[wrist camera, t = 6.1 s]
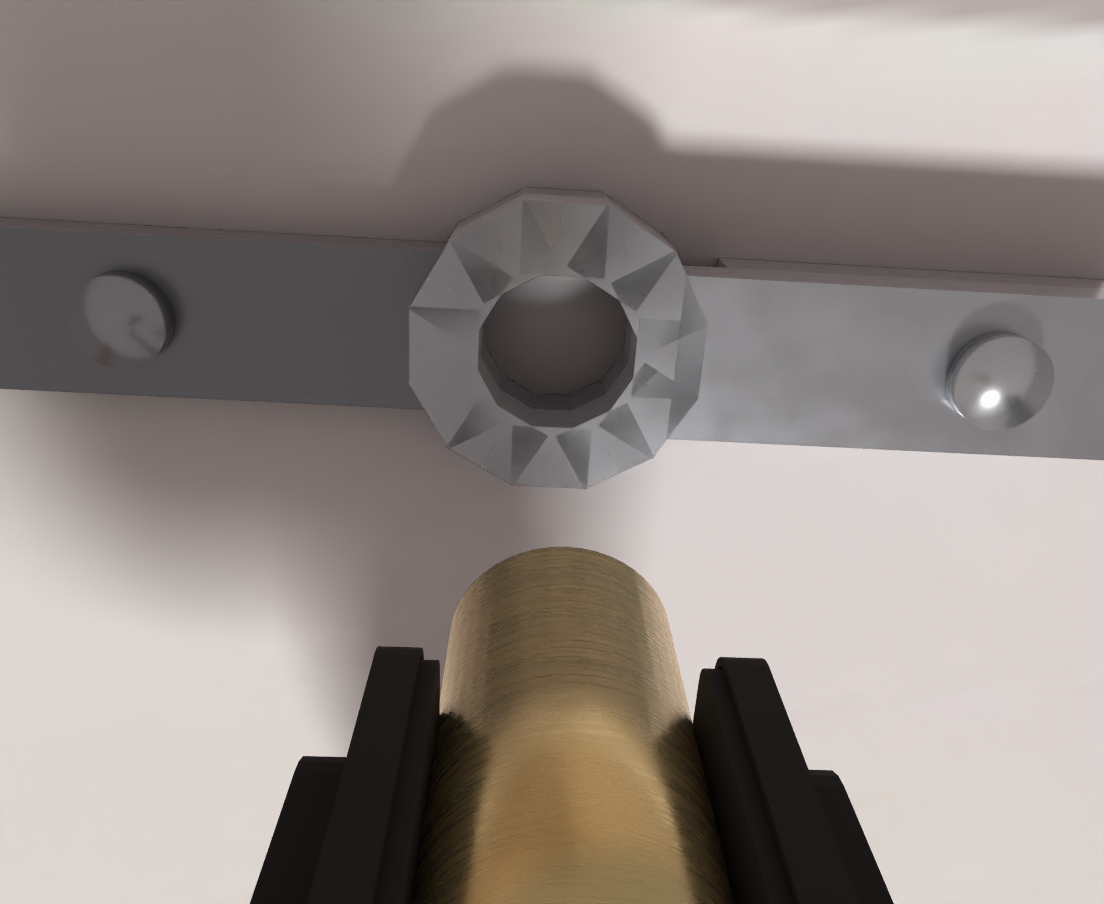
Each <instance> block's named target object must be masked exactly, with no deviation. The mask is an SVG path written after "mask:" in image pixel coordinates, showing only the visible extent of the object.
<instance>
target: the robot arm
mask: <svg viewBox="0 0 1104 904" xmlns="http://www.w3.org/2000/svg"><path fill="white" fill-rule="evenodd" d="M439 716H440V665H439V660H424V654H423V649H422V648H414V647H382V646H378V647H377V649H376V651H375V654H374V658H373V662H372V665H371V669H370V673H369V677H368V680H367V684H366V688H365V691H364V695H363V699H362V702H361V706H360V710H359V713H358V717H357V721H356V725H355V728H354V732H353V736H352V739H351V743H350V747H349V750H348V754H347V757H316V756H303V757H302V758H301V759H300V761H299V762H298V765H297V767H296V770H295V772H294V775H293V778H292V781H291V784H290V787H289V790H288V793H287V796H286V798H285V801H284V804H283V807H282V810H281V813H280V816H279V819H278V822H277V825H276V828H275V831H274V834H273V837H272V840H271V843H270V846H269V849H268V852H267V855H266V858H265V860H264V863H263V866H262V869H261V872H260V875H259V878H258V881H257V884H256V887H255V890H254V893H253V896H252V899H251V902H250V904H412V900H413V893H414V886H415V880H416V873H417V866H418V859H419V852H420V846H421V839H422V832H423V825H424V818H425V811H426V805H427V798H428V791H429V784H430V777H431V771H432V764H433V757H434V750H435V743H436V737H437V730H438V723H439ZM693 728H694V733H695V737H696V741H697V745H698V750H699V754H700V758H701V762H702V766H703V771H704V775H705V779H706V783H707V788H708V792H709V796H710V800H711V805H712V809H713V813H714V817H715V821H716V826H717V830H718V834H719V838H720V843H721V847H722V851H723V855H724V860H725V864H726V868H727V872H728V877H729V881H730V885H731V889H732V893H733V898H734V902H735V904H894V903H893V901H892V899H891V896H890V894H889V892H888V889H887V887H886V884H885V882H884V880H883V877H882V875H881V873H880V870H879V868H878V866H877V863H876V861H875V858H874V856H873V854H872V851H871V849H870V847H869V844H868V842H867V840H866V837H865V835H864V832H863V830H862V828H861V825H860V823H859V821H858V818H857V816H856V814H855V811H854V809H853V806H852V804H851V802H850V799H849V797H848V795H847V792H846V790H845V788H844V785H843V784H842V782H841V780H840V778H839V776H838V775H837V774H836V773H834V772H833V771H832V770H808V767H807V765H806V762H805V759H804V757H803V754H802V752H801V749H800V746H799V744H798V741H797V739H796V736H795V733H794V731H793V728H792V726H791V723H790V720H789V718H788V715H787V712H786V710H785V707H784V705H783V702H782V699H781V697H780V694H779V692H778V689H777V686H776V684H775V681H774V679H773V676H772V673H771V671H770V668H769V666H768V664H767V662H766V660H764V659H762V658H731V657H720V658H718V660H717V662H716V666H715V669H702V671H701V673H700V678H699V685H698V691H697V698H696V705H695V712H694V719H693Z"/></svg>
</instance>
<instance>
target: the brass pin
mask: <svg viewBox="0 0 1104 904" xmlns="http://www.w3.org/2000/svg"><path fill="white" fill-rule="evenodd" d="M412 904H735V902H734V898H733V893H732V889H731V885H730V881H729V877H728V872H727V868H726V864H725V860H724V855H723V851H722V847H721V843H720V838H719V834H718V830H717V826H716V821H715V817H714V813H713V809H712V805H711V800H710V796H709V792H708V788H707V783H706V779H705V775H704V771H703V766H702V762H701V758H700V754H699V750H698V745H697V741H696V737H695V733H694V728H693V724H692V720H691V716H690V711H689V707H688V703H687V699H686V694H685V690H684V686H683V682H682V678H681V673H680V669H679V665H678V661H677V656H676V652H675V648H674V644H673V639H672V635H671V631H670V627H669V623H668V619H667V615H666V612H665V609H664V607H663V605H662V602H661V600H660V598H659V597H658V595H657V594H656V592H655V591H654V589H653V588H652V587H651V586H650V585H649V583H648V582H647V581H646V580H645V579H644V578H643V577H642V576H641V575H639V574H638V573H637V572H636V571H635V570H633V569H632V568H630V567H629V566H627V565H626V564H624V563H623V562H621V561H619V560H617V559H614V558H612V557H610V556H608V555H605V554H602V553H599V552H596V551H591V550H586V549H582V548H572V547H550V548H542V549H536V550H532V551H528V552H524V553H521V554H518V555H515V556H513V557H510V558H508V559H506V560H504V561H502V562H500V563H498V564H496V565H495V566H493V567H492V568H490V569H489V570H488V571H486V572H485V573H483V574H482V575H481V576H480V577H479V578H478V579H477V580H476V581H475V582H474V583H473V584H472V585H471V586H470V588H469V589H468V590H467V591H466V592H465V594H464V596H463V597H462V599H461V600H460V602H459V604H458V606H457V609H456V611H455V613H454V616H453V620H452V624H451V629H450V635H449V642H448V649H447V655H446V662H445V669H444V675H443V682H442V689H441V695H440V716H439V723H438V730H437V737H436V743H435V750H434V757H433V764H432V771H431V777H430V784H429V791H428V798H427V805H426V811H425V818H424V825H423V832H422V839H421V846H420V852H419V859H418V866H417V873H416V880H415V886H414V893H413V900H412Z"/></svg>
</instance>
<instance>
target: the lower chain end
mask: <svg viewBox="0 0 1104 904" xmlns="http://www.w3.org/2000/svg"><path fill="white" fill-rule="evenodd" d="M523 193H527V194H542V195H559V196H576V197H592V198H603V197H604V198H607V200H608V201H610V202H611V203H612V204H614V205H615V206H617V207H618V208H620V209H621V210H623V211H624V212H626V213H627V214H628V215H630V216H631V217H633V218H634V219H636V220H637V221H639V222H640V223H641V224H643V225H644V226H646V227H647V228H649V229H650V230H652V231H653V232H655V233H656V234H657V235H659V236H660V237H662V238H663V239H665V240H666V241H668V240H667V239H666V237H665V236H664V235H663V233H662V232H661V233H660V232H659V231H658V230H656V229H655V228H653V227H652V226H650V225H649V224H647V223H646V222H645V221H643V220H642V219H640V218H639V217H637V216H636V215H634V214H633V213H632V212H630V211H629V210H627V209H626V208H624V207H623V206H621V205H620V204H618V203H617V202H616V201H614V200H613V199H611V198H610V197H608V196H607V195H605V194H604V193H603V192H601V191H582V190H565V189H549V188H532V187H524V188H523V189H521V190H519V191H517V192H515V193H514V194H512V195H510V196H508V197H506V198H504V199H502V200H500V201H498V202H496V203H494V204H493V205H491V206H489V207H487V208H485V209H483V210H481V211H479V212H477V213H475V214H473V215H472V216H470V217H468V218H466V219H464V220H462V221H459V222H458V223H457V225H456V227H455V229H458V228H460V227H462V226H464V225H466V224H468V223H470V222H472V221H474V220H475V219H477V218H479V217H481V216H483V215H485V214H487V213H489V212H491V211H493V210H495V209H497V208H498V207H500V206H502V205H504V204H506V203H508V202H510V201H512V200H514V199H516V198H518V197H519V196H521V195H523ZM455 229H454V230H455ZM450 237H451V236H450ZM449 239H450V238H449ZM448 241H449V240H448ZM448 241H447V243H448ZM447 243H445V242H428V241H410V240H392V239H375V238H357V237H339V236H322V235H304V234H286V233H269V232H251V231H233V230H216V229H198V228H181V227H163V226H145V225H128V224H110V223H92V222H75V221H57V220H39V219H22V218H4V217H0V389H21V390H41V391H61V392H82V393H102V394H122V395H142V396H163V397H183V398H203V399H224V400H244V401H264V402H284V403H305V404H325V405H345V406H366V407H386V408H406V409H424V408H423V406H422V404H421V403H420V401H419V399H418V398H417V396H416V394H415V393H414V391H413V389H412V388H411V386H409V305H410V303H411V302H412V300H413V298H414V296H415V294H417V292H418V291H419V289H420V287H421V286H422V284H423V282H424V281H425V279H426V277H427V276H428V274H429V272H430V271H431V269H432V267H433V266H434V264H435V263H436V261H437V259H438V258H439V256H440V254H441V253H442V251H443V249H444V248H445V246H446V244H447ZM669 243H670V242H669ZM631 331H632V326H631V324H630V322H629V320H628V317H627V323H626V333H625V344H624V350H623V351H622V352H621V354H620V355H619V357H618V358H617V359H616V361H615V362H614V364H613V365H612V366H611V368H610V369H609V371H608V372H607V373H606V375H605V376H604V378H603V379H601V380H599V381H597V382H595V383H593V384H591V385H589V386H587V387H585V388H583V389H580V390H578V391H576V392H574V393H572V394H570V395H563V394H543V393H532V392H530V391H528V390H527V389H525V388H523V387H522V386H520V385H519V384H517V383H515V382H514V381H512V380H510V379H509V378H507V377H505V376H504V375H502V374H501V373H500V371H499V369H498V367H497V366H496V364H495V362H494V360H493V358H492V357H491V355H490V353H489V351H488V349H487V347H486V346H485V344H484V342H483V333H484V322H483V324H482V325H481V357H482V359H483V360H484V362H485V364H486V366H487V368H488V369H489V371H490V373H491V375H492V377H493V378H494V380H495V382H496V384H497V386H498V387H499V389H500V390H502V391H504V392H505V393H507V394H509V395H510V396H512V397H514V398H515V399H517V400H519V401H520V402H522V403H523V404H525V405H527V406H528V407H530V408H532V409H546V410H566V411H571V410H574V409H576V408H578V407H580V406H582V405H584V404H586V403H588V402H590V401H593V400H595V399H597V398H599V397H601V396H603V395H605V394H606V393H607V392H608V391H609V389H610V388H611V386H612V385H613V384H614V382H615V381H616V379H617V378H618V377H619V375H620V374H621V373H622V371H623V370H624V368H625V367H626V366H627V364H628V362H629V352H630V342H631Z"/></svg>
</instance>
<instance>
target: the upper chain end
mask: <svg viewBox="0 0 1104 904" xmlns="http://www.w3.org/2000/svg"><path fill="white" fill-rule="evenodd" d="M539 275H553V276H571V277H584V278H586V279H587V280H589V281H590V282H592V283H593V284H595V285H596V286H598V287H599V288H601V289H602V290H604V291H606V292H607V293H609V294H610V295H612V296H613V297H615V298H616V299H618V300H619V301H620V303H621V305H622V307H623V309H624V311H625V313H626V315H627V317H628V320H629V322H630V324H631V326H632V331H631V342H630V352H629V362H628V364H627V366H626V367H625V368H624V370H623V371H622V373H621V374H620V375H619V377H618V378H617V379H616V381H615V382H614V384H613V385H612V386H611V388H610V389H609V391H608V392H607V393H606V394H605V395H603V396H601V397H599V398H597V399H595V400H593V401H590V402H588V403H586V404H584V405H582V406H580V407H578V408H576V409H574V410H571V411H566V410H546V409H532V408H530V407H528V406H527V405H525V404H523V403H522V402H520V401H519V400H517V399H515V398H514V397H512V396H510V395H509V394H507V393H505V392H504V391H502V390H500V389H499V387H498V386H497V384H496V382H495V380H494V378H493V377H492V375H491V373H490V371H489V369H488V368H487V366H486V364H485V362H484V360H483V359H482V357H481V325H482V324H483V322H484V321H485V319H486V318H487V316H488V315H489V313H490V311H491V310H492V308H493V307H494V305H495V304H496V302H497V301H498V299H499V297H500V296H501V294H503V293H505V292H507V291H509V290H511V289H513V288H515V287H517V286H519V285H521V284H523V283H525V282H527V281H529V280H531V279H533V278H535V277H537V276H539ZM409 386H411V388H412V389H413V391H414V393H415V394H416V396H417V398H418V399H419V401H420V403H421V404H422V406H423V408H424V409H425V411H426V413H427V414H428V416H429V418H430V419H431V421H432V423H433V424H434V426H435V428H436V429H437V431H438V433H439V434H440V436H441V438H442V439H443V441H444V443H445V444H446V446H447V448H448V449H450V450H452V451H454V452H455V453H457V454H459V455H460V456H462V457H464V458H466V459H467V460H469V461H471V462H473V463H474V464H476V465H478V466H479V467H481V468H483V469H485V470H486V471H488V472H490V473H491V474H493V475H495V476H497V477H498V478H500V479H502V480H504V481H505V482H507V483H509V484H510V485H512V486H513V485H519V486H541V487H562V488H584V489H587V488H588V487H590V486H592V485H594V484H597V483H599V482H601V481H603V480H605V479H608V478H610V477H612V476H614V475H616V474H618V473H621V472H623V471H625V470H627V469H629V468H632V467H634V466H636V465H638V464H640V463H643V462H645V461H647V460H649V459H652V458H654V456H655V454H656V453H657V452H658V450H659V449H660V448H661V447H662V445H663V444H664V443H665V441H666V440H667V439H677V440H698V441H719V442H739V443H760V444H780V445H801V446H822V447H842V448H863V449H884V450H904V451H925V452H945V453H966V454H987V455H1007V456H1028V457H1048V458H1069V459H1090V460H1104V280H1098V279H1081V278H1063V277H1045V276H1028V275H1010V274H992V273H975V272H957V271H939V270H922V269H904V268H887V267H869V266H851V265H834V264H816V263H798V262H781V261H763V260H745V259H728V258H718V266H717V267H705V266H687V265H682V264H681V262H680V259H679V257H678V255H677V251H676V250H675V249H674V248H673V246H672V245H671V244H670V243H669V241H666V240H665V239H663V238H662V237H660V236H659V235H657V234H656V233H655V232H653V231H652V230H650V229H649V228H647V227H646V226H644V225H643V224H641V223H640V222H639V221H637V220H636V219H634V218H633V217H631V216H630V215H628V214H627V213H626V212H624V211H623V210H621V209H620V208H618V207H617V206H615V205H614V204H612V203H611V202H610V201H608V200H607V198H604V197H603V198H592V197H576V196H559V195H542V194H527V193H523V195H521V196H519V197H518V198H516V199H514V200H512V201H510V202H508V203H506V204H504V205H502V206H500V207H498V208H497V209H495V210H493V211H491V212H489V213H487V214H485V215H483V216H481V217H479V218H477V219H475V220H474V221H472V222H470V223H468V224H466V225H464V226H462V227H460V228H458V229H455V230H454V231H453V233H452V235H451V237H450V239H449V241H448V243H447V244H446V246H445V248H444V249H443V251H442V253H441V254H440V256H439V258H438V259H437V261H436V263H435V264H434V266H433V267H432V269H431V271H430V272H429V274H428V276H427V277H426V279H425V281H424V282H423V284H422V286H421V287H420V289H419V291H418V292H417V294H415V296H414V298H413V300H412V302H411V303H410V305H409Z"/></svg>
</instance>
